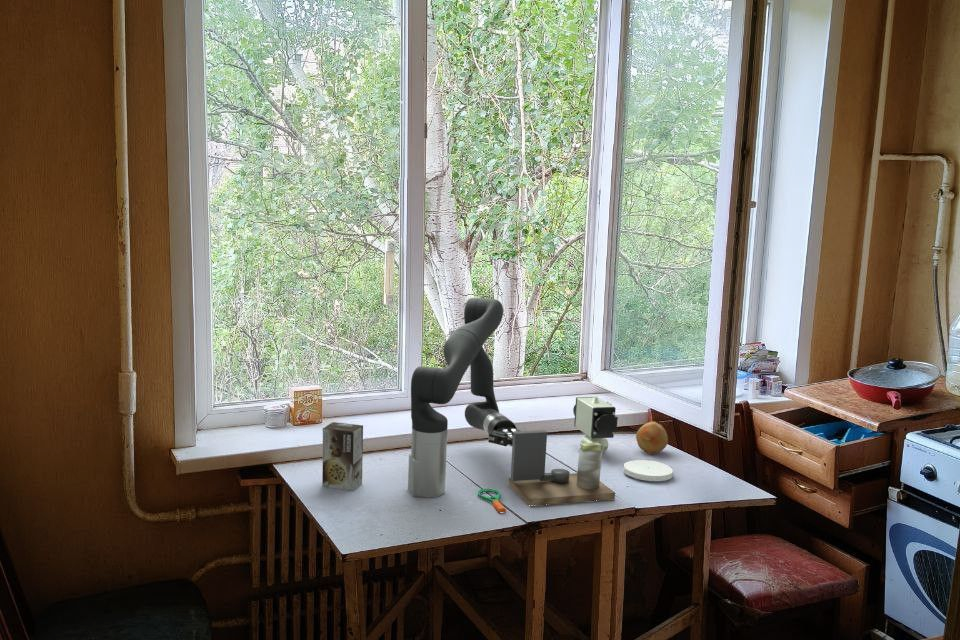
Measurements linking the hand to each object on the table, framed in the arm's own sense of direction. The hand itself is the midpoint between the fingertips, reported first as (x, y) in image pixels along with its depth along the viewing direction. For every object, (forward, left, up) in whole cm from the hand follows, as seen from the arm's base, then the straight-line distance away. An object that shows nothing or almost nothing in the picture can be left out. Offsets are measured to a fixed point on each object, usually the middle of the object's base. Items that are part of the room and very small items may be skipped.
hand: (520, 446), depth 209 cm
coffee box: (-46, +10, -12) cm, 49 cm away
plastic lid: (+41, +2, -12) cm, 43 cm away
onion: (+53, +21, -12) cm, 58 cm away
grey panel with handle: (+5, -3, -9) cm, 11 cm away
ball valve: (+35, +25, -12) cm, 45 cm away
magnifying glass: (-10, -9, -12) cm, 18 cm away
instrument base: (+10, -6, -12) cm, 16 cm away
